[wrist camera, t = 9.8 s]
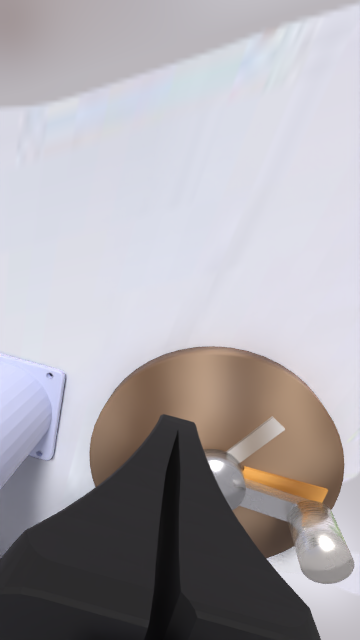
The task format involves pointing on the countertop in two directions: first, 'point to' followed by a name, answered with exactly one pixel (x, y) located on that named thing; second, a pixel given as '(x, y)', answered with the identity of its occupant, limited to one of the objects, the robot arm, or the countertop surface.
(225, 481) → the silver dumbbell
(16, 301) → the countertop surface
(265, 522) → the dial plate
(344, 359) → the countertop surface
